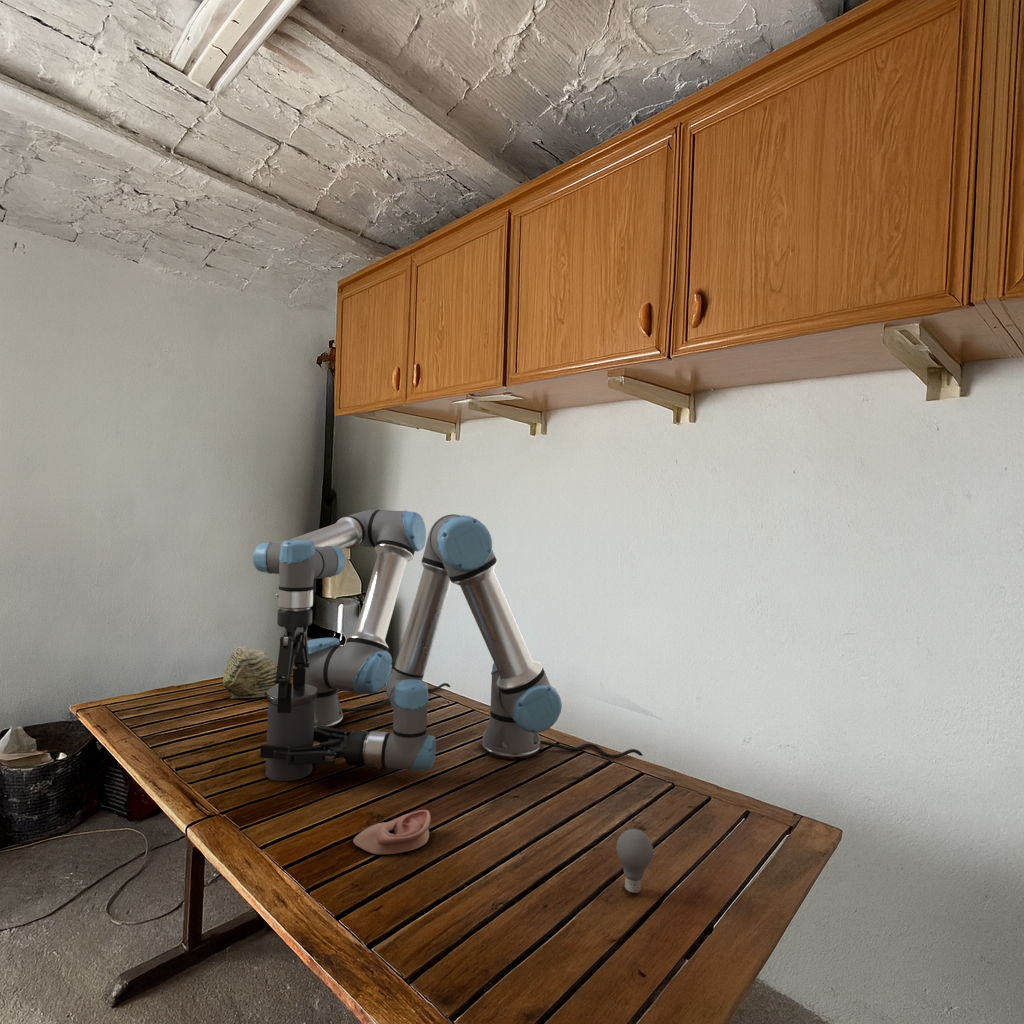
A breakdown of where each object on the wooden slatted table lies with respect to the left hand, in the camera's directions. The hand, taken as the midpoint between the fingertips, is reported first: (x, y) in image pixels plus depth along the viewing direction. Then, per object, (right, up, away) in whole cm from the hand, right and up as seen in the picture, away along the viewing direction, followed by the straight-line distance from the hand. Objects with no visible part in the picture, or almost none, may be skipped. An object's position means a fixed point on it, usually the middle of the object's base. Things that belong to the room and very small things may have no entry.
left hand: (291, 703), depth 145 cm
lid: (0, +3, 0) cm, 3 cm away
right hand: (-5, -9, +1) cm, 10 cm away
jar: (-1, -16, 0) cm, 16 cm away
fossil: (-30, -13, +53) cm, 63 cm away
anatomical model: (+28, -17, -27) cm, 42 cm away
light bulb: (+71, -19, -39) cm, 83 cm away
